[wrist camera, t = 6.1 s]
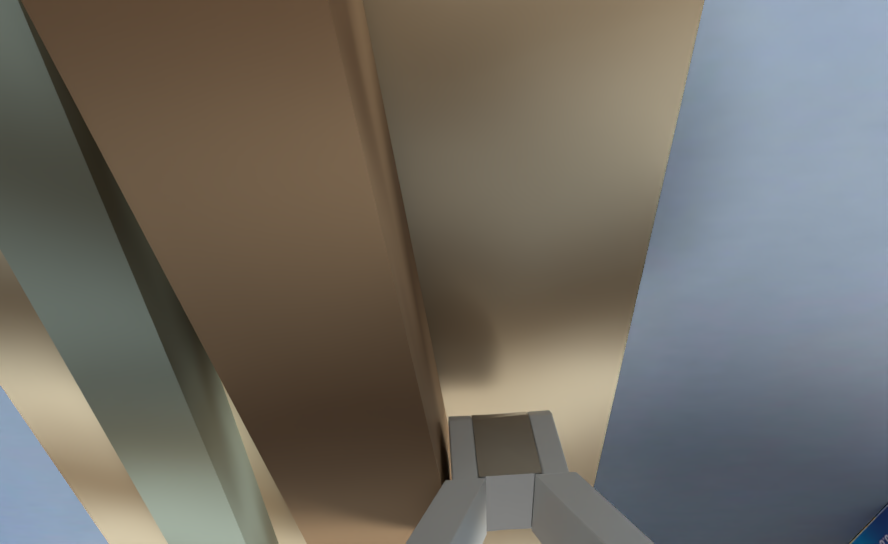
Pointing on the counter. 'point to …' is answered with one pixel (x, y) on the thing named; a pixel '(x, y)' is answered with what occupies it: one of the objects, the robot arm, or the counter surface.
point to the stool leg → (275, 234)
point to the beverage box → (874, 530)
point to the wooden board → (432, 236)
